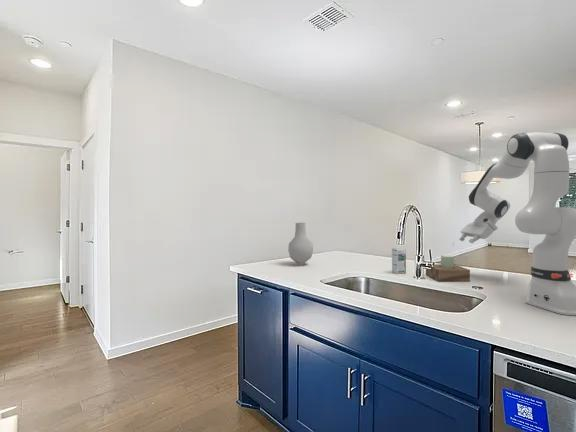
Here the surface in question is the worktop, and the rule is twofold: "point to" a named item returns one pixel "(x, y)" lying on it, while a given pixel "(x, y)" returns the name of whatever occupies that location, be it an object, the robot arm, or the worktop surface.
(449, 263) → the peg
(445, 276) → the well block
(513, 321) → the worktop surface
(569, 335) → the worktop surface
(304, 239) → the vase
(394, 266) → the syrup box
